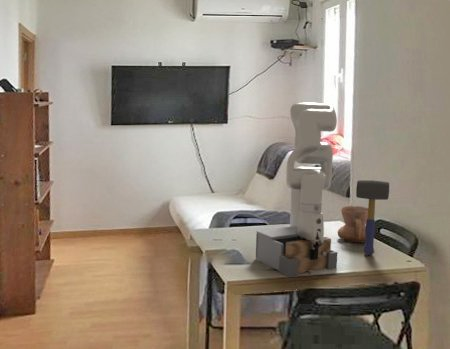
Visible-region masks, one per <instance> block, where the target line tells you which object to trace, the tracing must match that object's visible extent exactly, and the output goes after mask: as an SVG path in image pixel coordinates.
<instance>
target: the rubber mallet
mask: <svg viewBox="0 0 450 349" xmlns="http://www.w3.org/2000/svg"><path fill="white" fill-rule="evenodd" d="M389 195H390V182H387V181H382V180H372V179H371V180H370V179H369V180H367V179H365V180H364V179H363V180H361V179H360V180H357V181H356V188H355V196H356V198H359V199H365V200H368V207H367V208H368V218H367V221H366V224H365V226H366V227H365V242H364V247H363V254H364V255H365V256H368V255H371V256H373V254H374V253H375V248H374V243H375V242H374V241H375V239H374V238H375V233H376V220H375V213H376V212H375V210H376V200H379V201H380V200H381V201H382V200H384V201H385V200H389V198H390V196H389Z"/></svg>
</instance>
